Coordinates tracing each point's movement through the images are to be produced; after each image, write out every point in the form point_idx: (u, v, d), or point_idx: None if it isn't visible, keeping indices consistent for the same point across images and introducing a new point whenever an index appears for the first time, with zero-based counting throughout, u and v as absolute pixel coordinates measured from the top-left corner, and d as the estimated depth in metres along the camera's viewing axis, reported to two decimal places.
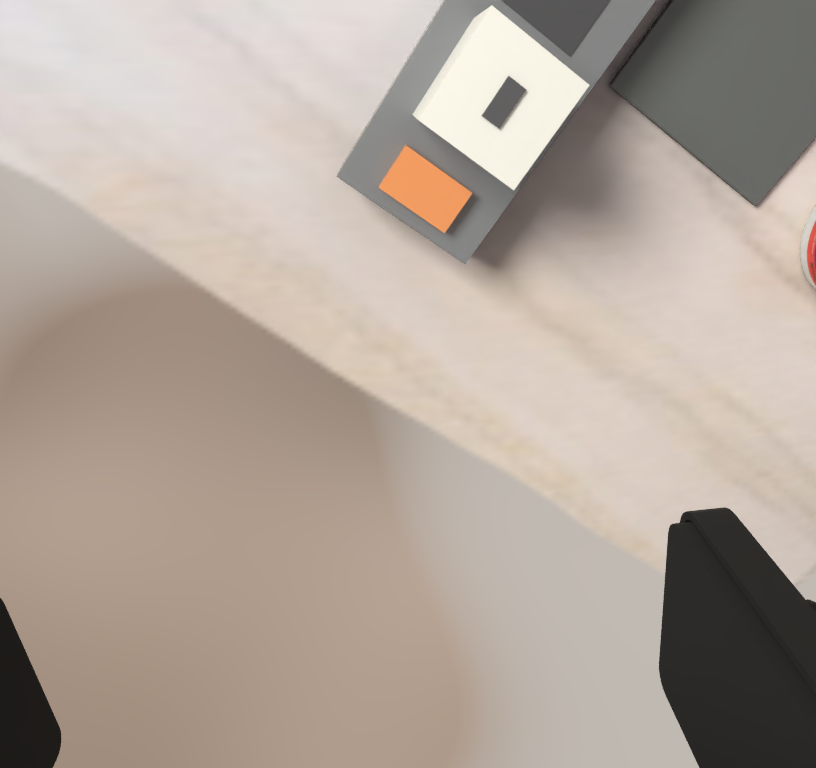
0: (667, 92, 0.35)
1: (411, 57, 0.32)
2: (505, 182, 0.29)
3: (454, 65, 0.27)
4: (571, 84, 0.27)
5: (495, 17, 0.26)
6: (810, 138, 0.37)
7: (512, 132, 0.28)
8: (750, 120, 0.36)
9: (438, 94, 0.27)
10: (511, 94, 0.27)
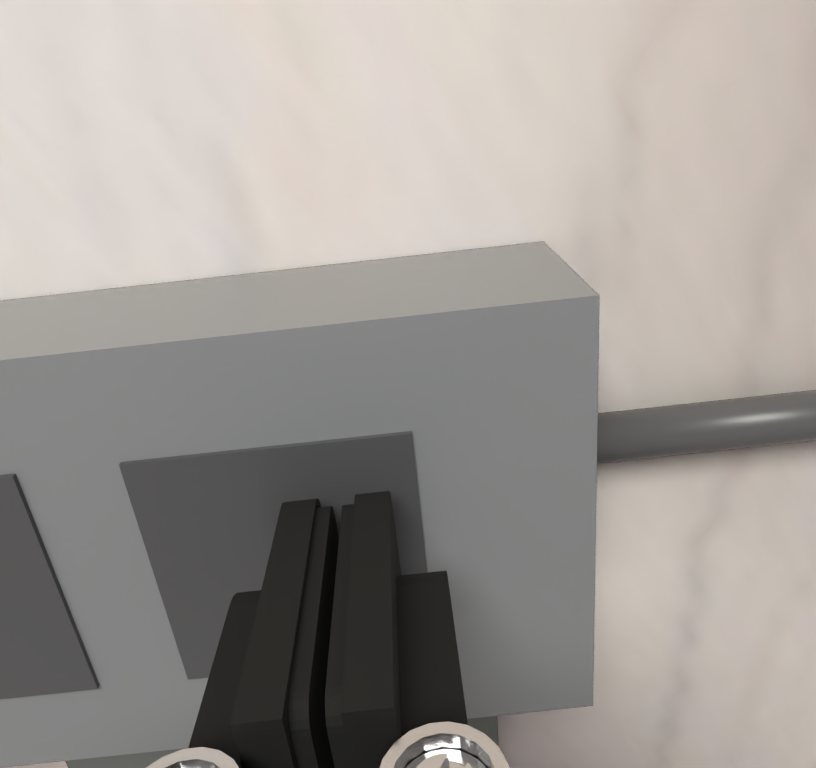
0: (126, 765, 0.17)
1: None
2: None
3: None
4: None
5: None
6: None
7: None
8: None
9: None
10: None
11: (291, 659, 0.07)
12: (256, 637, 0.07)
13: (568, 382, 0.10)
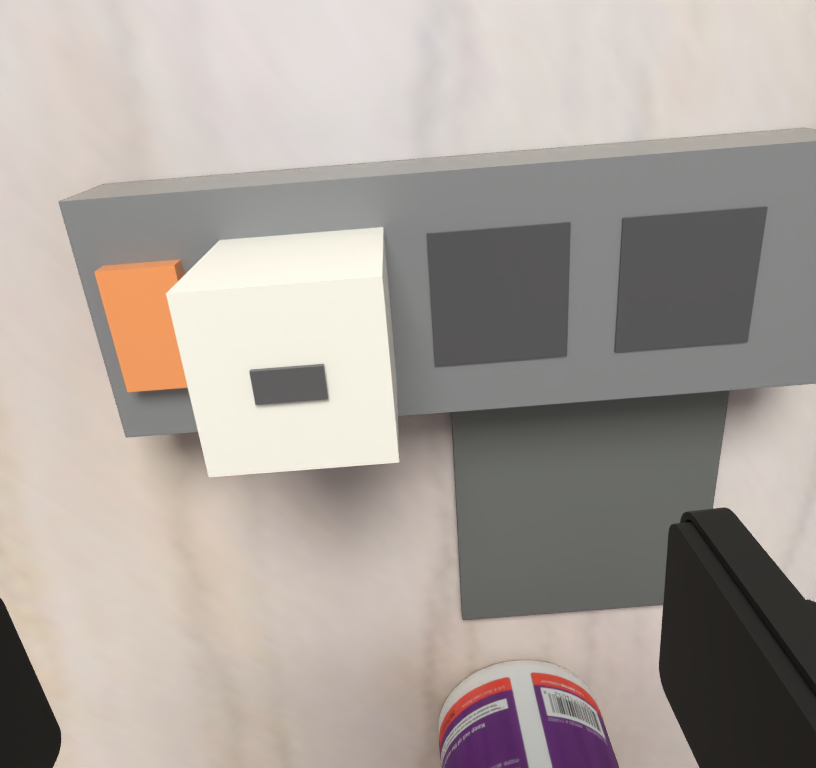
0: (490, 464, 0.28)
1: (278, 185, 0.20)
2: (207, 460, 0.17)
3: (273, 286, 0.16)
4: (381, 441, 0.17)
5: (372, 292, 0.16)
6: (554, 610, 0.31)
7: (267, 421, 0.17)
8: (527, 553, 0.30)
9: (220, 294, 0.16)
10: (307, 384, 0.17)
11: None
12: None
13: None
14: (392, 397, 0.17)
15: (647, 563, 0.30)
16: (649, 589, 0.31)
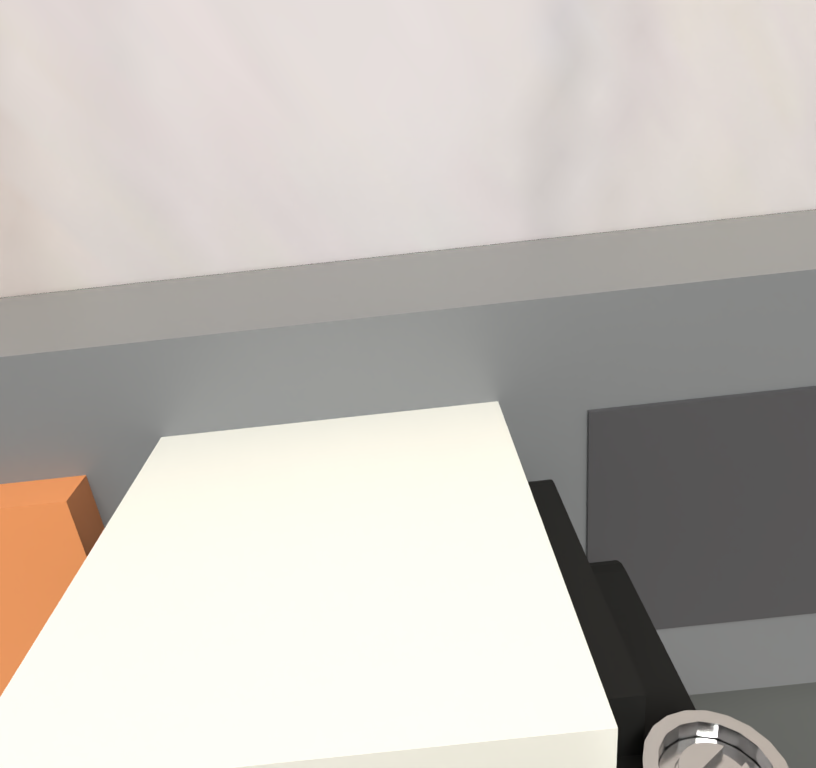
0: None
1: (282, 330, 0.09)
2: None
3: (275, 763, 0.05)
4: None
5: (583, 767, 0.05)
6: None
7: None
8: None
9: None
10: None
11: None
12: None
13: None
14: None
15: None
16: None
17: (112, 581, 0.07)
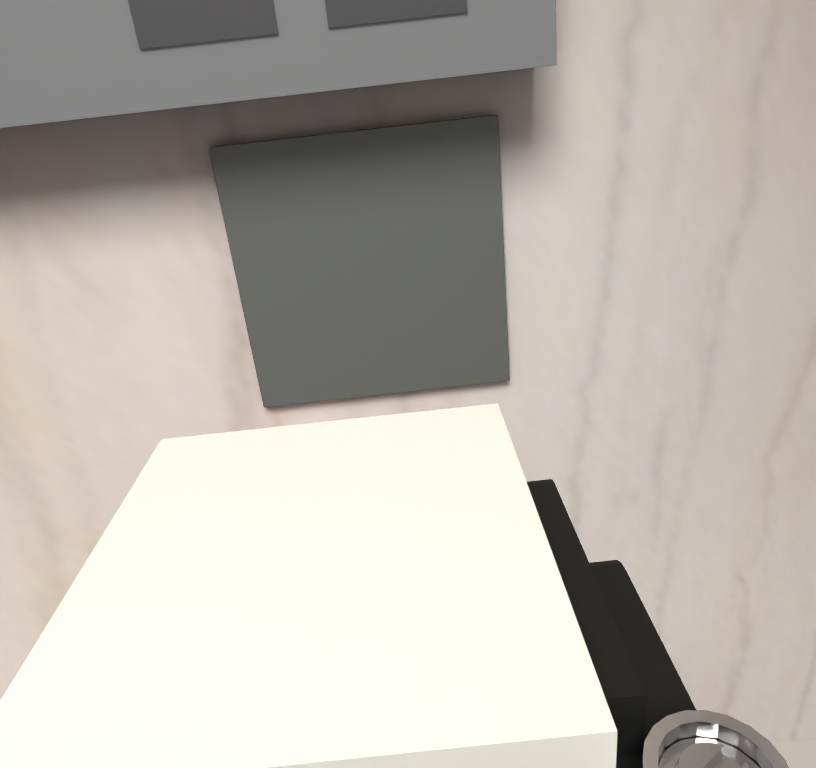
0: (260, 215, 0.27)
1: None
2: None
3: (276, 766, 0.05)
4: None
5: None
6: (357, 393, 0.30)
7: None
8: (317, 323, 0.28)
9: None
10: None
11: None
12: None
13: None
14: None
15: (447, 334, 0.29)
16: (454, 366, 0.29)
17: (113, 583, 0.07)
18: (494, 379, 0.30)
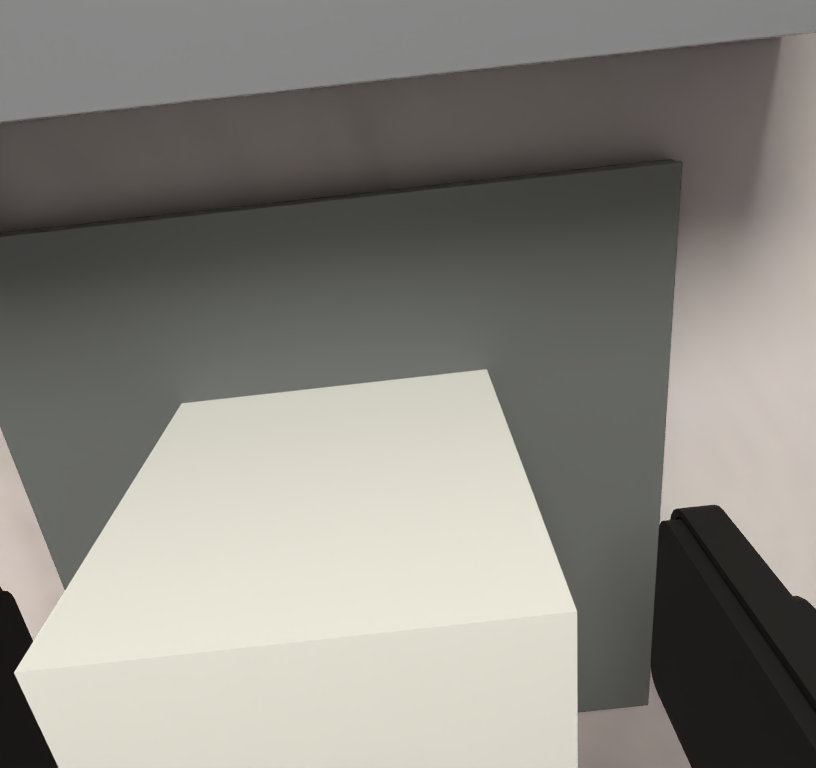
0: (82, 400, 0.11)
1: None
2: None
3: (293, 643, 0.06)
4: None
5: (549, 647, 0.06)
6: None
7: None
8: None
9: (157, 668, 0.06)
10: None
11: None
12: None
13: None
14: None
15: None
16: None
17: (146, 516, 0.08)
18: (616, 704, 0.14)
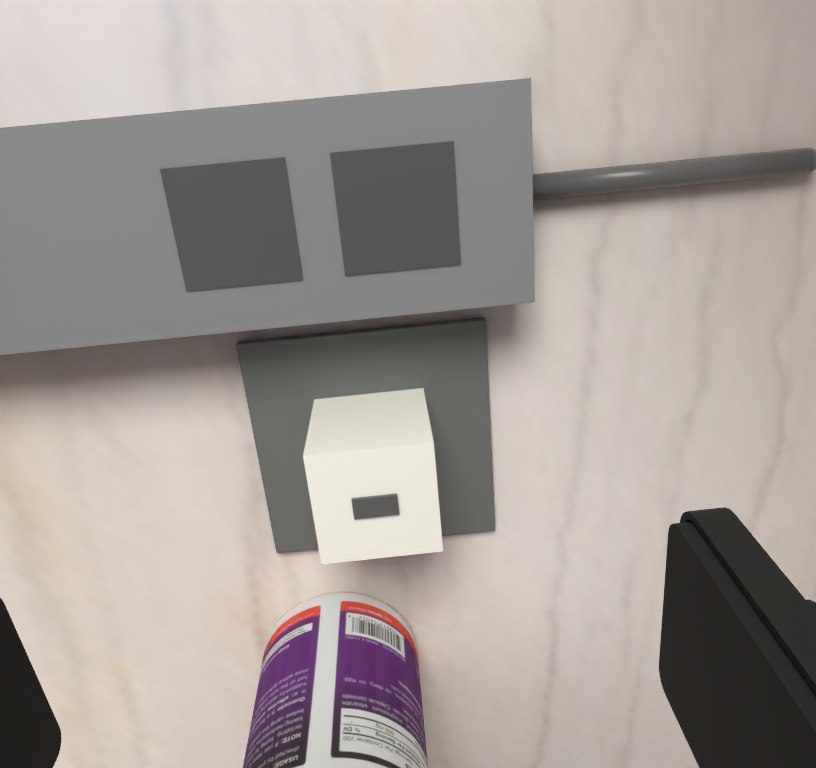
0: (279, 398, 0.31)
1: (24, 127, 0.23)
2: (321, 554, 0.27)
3: (368, 450, 0.26)
4: (432, 539, 0.27)
5: (428, 451, 0.26)
6: None
7: (361, 528, 0.27)
8: None
9: (336, 455, 0.26)
10: (386, 505, 0.27)
11: None
12: None
13: (519, 119, 0.24)
14: (439, 511, 0.27)
15: (440, 492, 0.33)
16: (446, 518, 0.33)
17: (319, 429, 0.28)
18: (481, 529, 0.34)
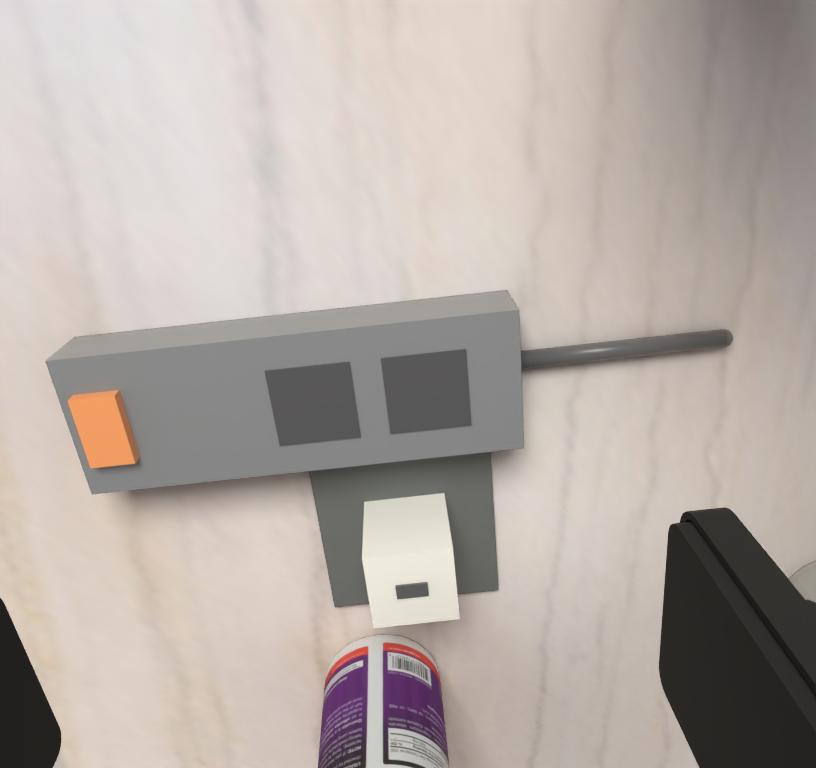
0: (338, 501, 0.42)
1: (174, 347, 0.34)
2: (373, 621, 0.39)
3: (407, 554, 0.37)
4: (452, 611, 0.38)
5: (449, 555, 0.37)
6: None
7: (401, 605, 0.38)
8: None
9: (384, 558, 0.37)
10: (419, 589, 0.38)
11: None
12: None
13: (511, 334, 0.34)
14: (456, 593, 0.38)
15: (456, 564, 0.44)
16: (461, 582, 0.45)
17: (370, 532, 0.39)
18: (488, 589, 0.45)
